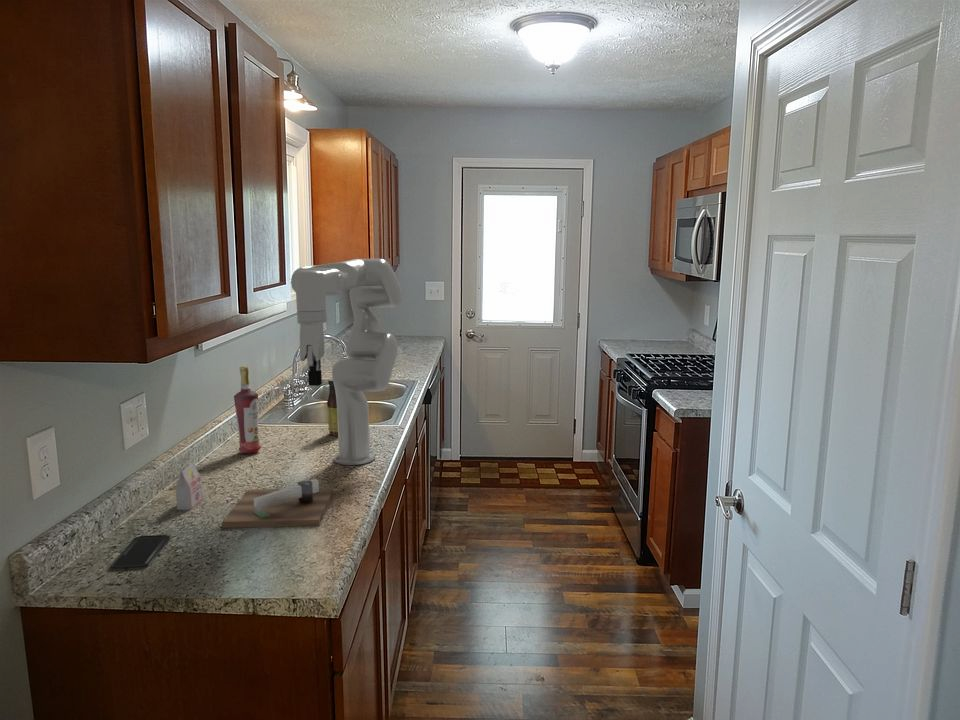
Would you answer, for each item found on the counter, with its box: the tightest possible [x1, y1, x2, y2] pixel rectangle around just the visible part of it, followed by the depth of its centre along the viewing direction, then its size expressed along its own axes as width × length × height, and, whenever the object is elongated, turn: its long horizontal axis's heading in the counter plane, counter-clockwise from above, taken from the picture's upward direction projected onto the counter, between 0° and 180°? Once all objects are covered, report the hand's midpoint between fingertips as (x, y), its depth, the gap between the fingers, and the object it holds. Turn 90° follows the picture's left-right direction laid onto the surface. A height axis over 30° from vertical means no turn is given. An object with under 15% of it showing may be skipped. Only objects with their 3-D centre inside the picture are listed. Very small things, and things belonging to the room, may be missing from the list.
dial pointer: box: [253, 478, 320, 512], centre depth 170 cm, size 18×4×5 cm, turn 138°
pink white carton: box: [174, 463, 204, 511], centre depth 176 cm, size 4×7×10 cm, turn 177°
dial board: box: [221, 487, 335, 529], centre depth 173 cm, size 21×23×2 cm
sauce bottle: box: [326, 378, 338, 437], centre depth 237 cm, size 6×6×20 cm
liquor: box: [233, 365, 262, 455], centre depth 217 cm, size 7×7×28 cm
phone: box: [109, 534, 171, 571], centre depth 150 cm, size 8×1×15 cm
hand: (315, 384), depth 183 cm, fingers closed
